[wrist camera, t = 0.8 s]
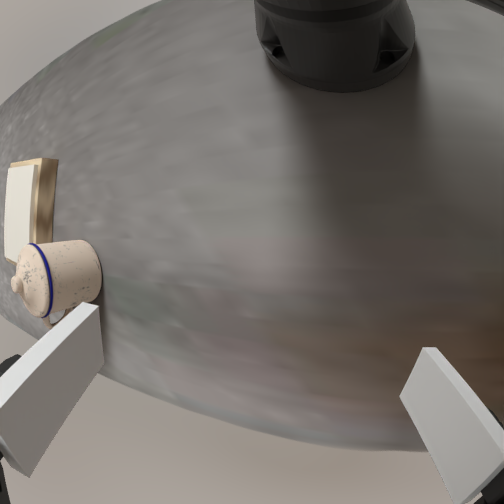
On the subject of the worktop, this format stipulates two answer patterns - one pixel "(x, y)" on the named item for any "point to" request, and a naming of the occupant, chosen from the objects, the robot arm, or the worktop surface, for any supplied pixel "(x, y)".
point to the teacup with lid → (57, 277)
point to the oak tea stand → (29, 205)
